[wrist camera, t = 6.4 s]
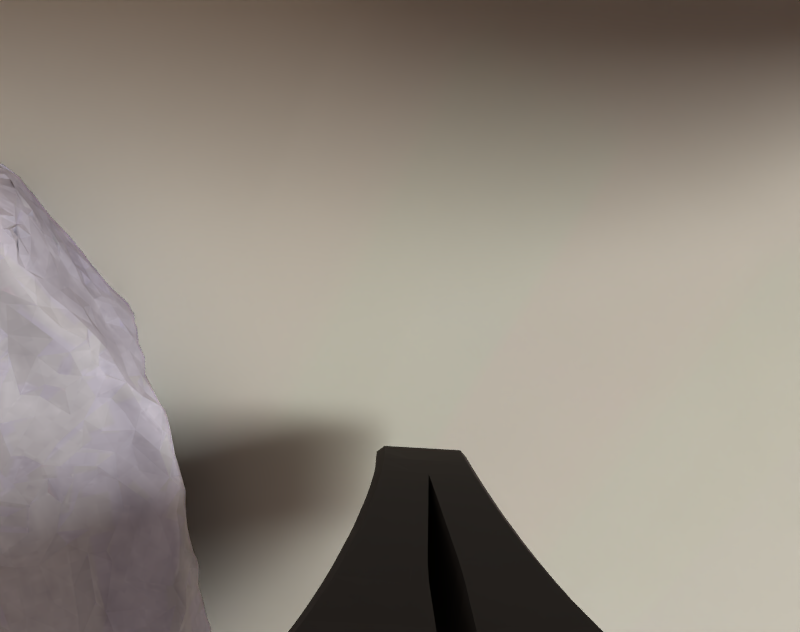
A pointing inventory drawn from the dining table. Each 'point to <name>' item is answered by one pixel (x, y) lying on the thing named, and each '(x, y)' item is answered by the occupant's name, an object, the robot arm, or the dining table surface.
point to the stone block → (82, 449)
